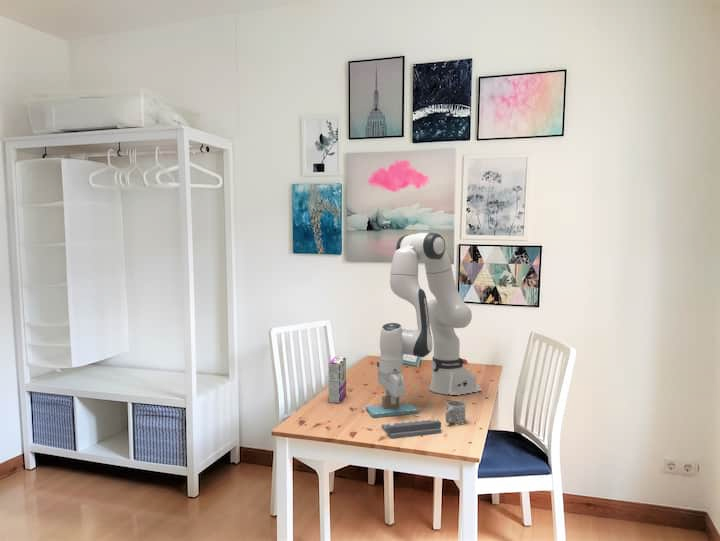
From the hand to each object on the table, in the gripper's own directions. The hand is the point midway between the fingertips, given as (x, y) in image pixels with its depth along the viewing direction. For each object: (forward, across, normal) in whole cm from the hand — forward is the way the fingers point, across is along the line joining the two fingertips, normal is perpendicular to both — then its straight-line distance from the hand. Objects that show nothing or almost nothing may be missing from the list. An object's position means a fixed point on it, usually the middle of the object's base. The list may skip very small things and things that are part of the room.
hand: (390, 401), depth 205 cm
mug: (+4, -18, -17) cm, 26 cm away
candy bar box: (+4, +19, +16) cm, 25 cm away
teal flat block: (+3, -2, 0) cm, 4 cm away
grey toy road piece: (+3, -21, 0) cm, 21 cm away
